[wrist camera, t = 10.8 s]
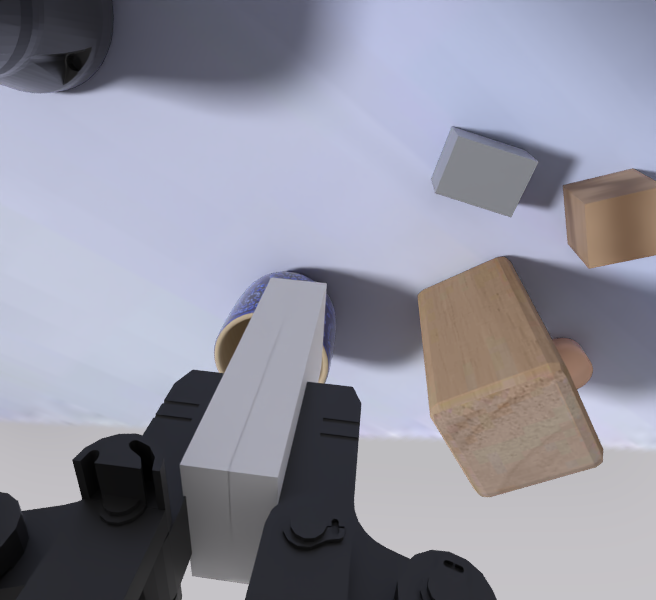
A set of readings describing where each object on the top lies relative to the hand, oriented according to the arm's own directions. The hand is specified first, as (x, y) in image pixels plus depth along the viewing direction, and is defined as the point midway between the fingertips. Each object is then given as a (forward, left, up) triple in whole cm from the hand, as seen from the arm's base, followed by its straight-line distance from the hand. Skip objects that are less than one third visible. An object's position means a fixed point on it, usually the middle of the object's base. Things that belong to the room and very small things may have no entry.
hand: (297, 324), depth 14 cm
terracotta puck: (+24, -23, -37) cm, 49 cm away
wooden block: (+14, -18, -37) cm, 43 cm away
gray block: (+11, -3, -37) cm, 38 cm away
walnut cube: (+23, -6, -37) cm, 44 cm away
